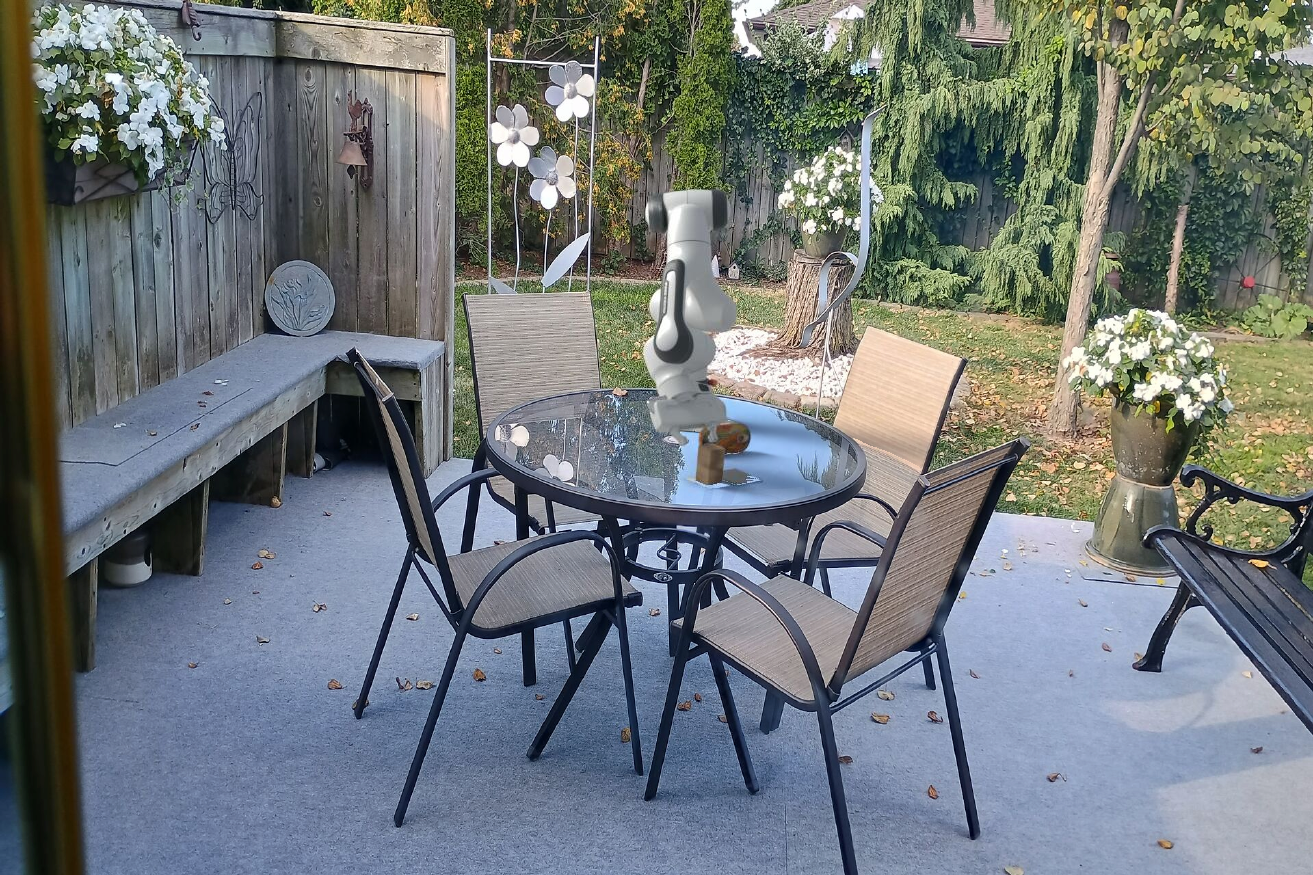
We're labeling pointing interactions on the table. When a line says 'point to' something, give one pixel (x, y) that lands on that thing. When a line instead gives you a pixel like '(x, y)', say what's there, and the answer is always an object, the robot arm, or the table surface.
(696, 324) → the robot arm
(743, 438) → the tin
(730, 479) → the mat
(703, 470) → the walnut block
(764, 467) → the table surface
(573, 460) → the table surface
